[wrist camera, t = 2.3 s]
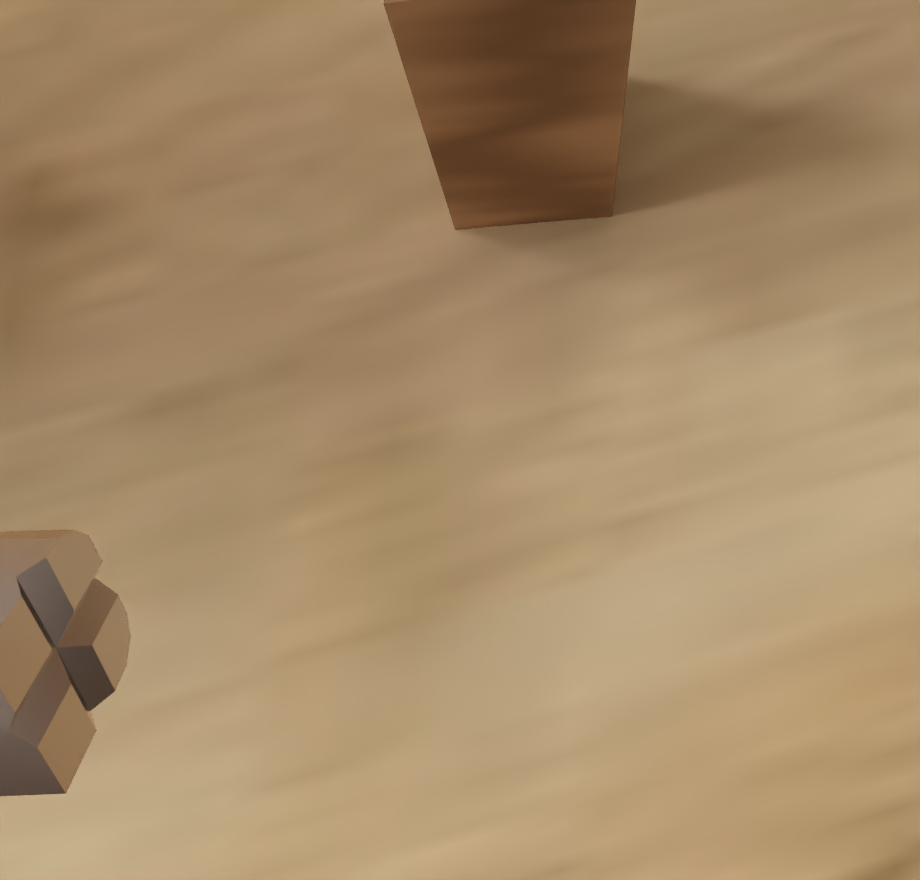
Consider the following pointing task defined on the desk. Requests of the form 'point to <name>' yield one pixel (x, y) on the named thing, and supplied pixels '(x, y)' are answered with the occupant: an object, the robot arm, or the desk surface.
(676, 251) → the desk surface
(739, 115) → the desk surface
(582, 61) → the walnut block
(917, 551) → the desk surface
